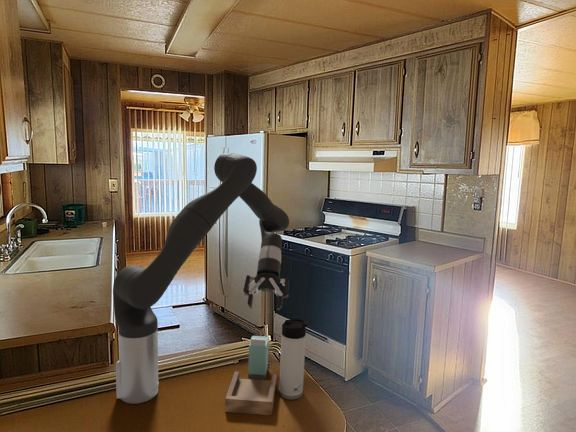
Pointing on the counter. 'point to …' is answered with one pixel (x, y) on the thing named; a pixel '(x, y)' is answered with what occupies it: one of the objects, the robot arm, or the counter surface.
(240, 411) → the wooden tray
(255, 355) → the mint green block
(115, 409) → the counter surface
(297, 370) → the travel mug
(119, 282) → the robot arm
